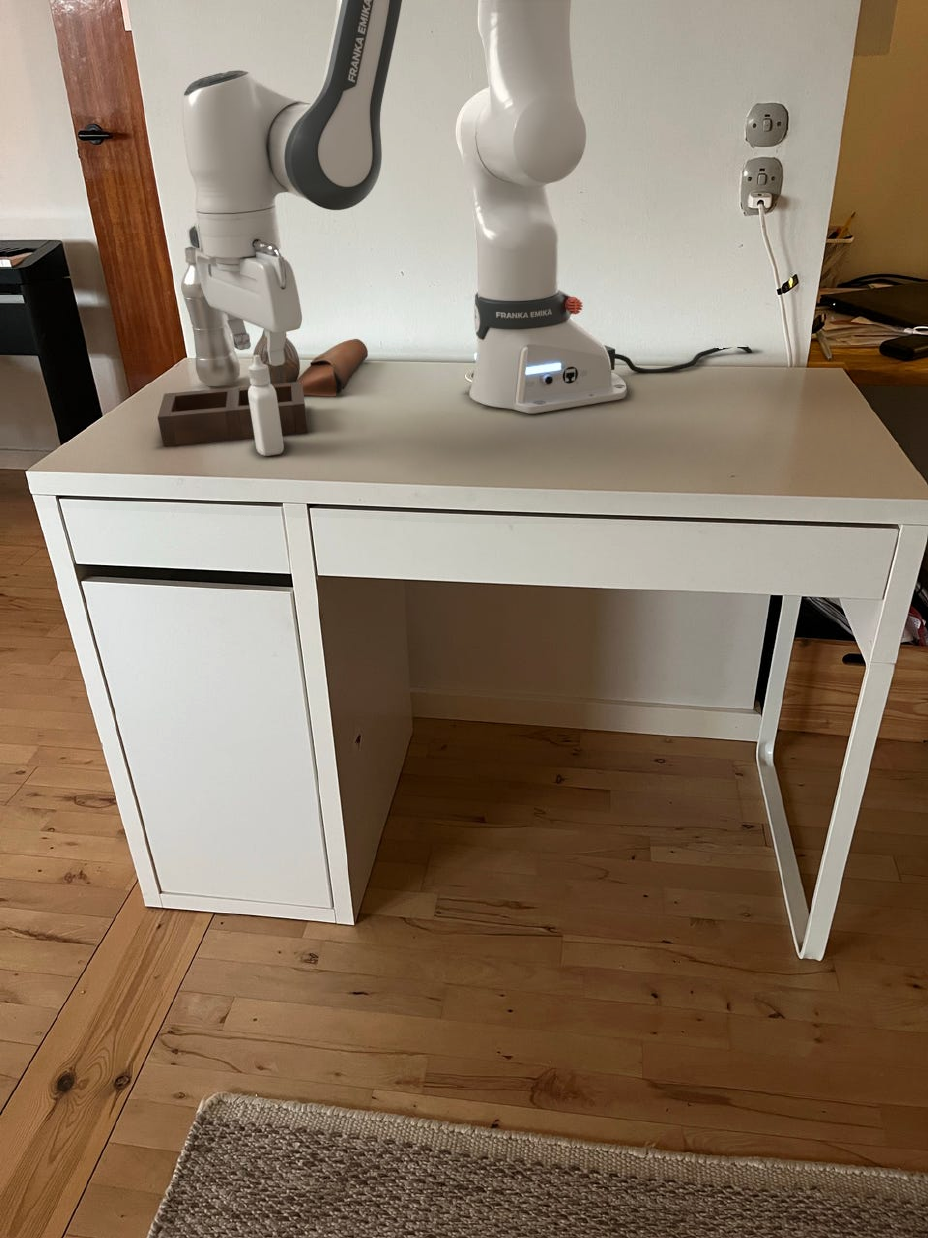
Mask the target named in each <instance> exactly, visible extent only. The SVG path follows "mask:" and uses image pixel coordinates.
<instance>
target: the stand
mask: <svg viewBox="0 0 928 1238" xmlns="http://www.w3.org/2000/svg"><path fill="white" fill-rule="evenodd" d="M271 385H272V386H273V387H274V388H275V391H276V395H277V402H278V409H279V416H280V423H281V430H282V436H288V435H300V434H308V433H309V429H308V421H307V420H308V418H307V412H306V403H305V395H304V394H303V386H302V382H292V383H280V384H271ZM250 386H251V385H248V386H236V387H235V386H234V387H224V388H223V387H222V388H213V389H202V390H201V389H200V390H190V391H179V392H177V391H176V392H167V393H166V392H165V393H164V395H163V397H162V401H161V404H160V408H159V411H158V414H157V417H156V418H157V422H158V427H159V433H160V437H161V441H162V446H163V447H173V446H174V447H175V446H183V445H195V444H204V443H205V444H206V443H215V442H216V443H217V442H226V441H236V440H237V441H238V440H247V439H255V437H254V430H253V424H252V417H251V411H250V404H249V398H248V390H249V387H250Z"/></svg>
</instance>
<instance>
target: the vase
mask: <svg viewBox="0 0 928 1238" xmlns="http://www.w3.org/2000/svg"><path fill="white" fill-rule="evenodd" d="M264 349H267V337H265V333H264V329H262V333H261V336H260V338H259V340H258V342H257V343H256V345H255V347H254V350H253V354H252V360H253V359H254V355H259V356H260V359H261V361H262V363H263V364H265V365H267V366H268V368H269V375H270V384H280V383H292V382H296V381H297V380H298V379H299V378H300V373H301V363H300V362H301V361H300V357H299V353H298V351H297V349H296V347H295V345H294V343H292V342H291V340H290V339H289V338H288V337H287V336H286V341H285V345H284V349H283V351H284V358H285V362H284V364H282V365H278V366H273V365H271V364H269V363H267V362H266V356H265V351H264Z"/></svg>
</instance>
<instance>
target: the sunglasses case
mask: <svg viewBox="0 0 928 1238" xmlns="http://www.w3.org/2000/svg"><path fill="white" fill-rule="evenodd" d="M368 357H369V351H368V348H367V345H366V344H365V343H364V341H362V340H361V339H358V338H353V339H347V340H345V341H342V342H340V343H338V344H335V345H334V346H332V347H331V348H329V349H328V350H326V351H325V352H323V353H321V354H319V355H318V356H316V357H315V358H314V359H312V361H311V362H310V366H309V367H308V368H306V369H305V371H303V372H302V374H301V375H299V377H298V379H297V381H296V382H302V386H303V394H304V396H308V397H327V398H329V397H332V398H333V397H337V396H339V395H341V393H342V392H343V391H344V390H345V389H346V387H347V386H348V383H349V382H350V380H351V379H352V378H353V375H354V374H355V373H356V372H357V370H358V369H359V368H360V366H361V365H362V364H363V363H364V362H365V360H367V358H368Z"/></svg>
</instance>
